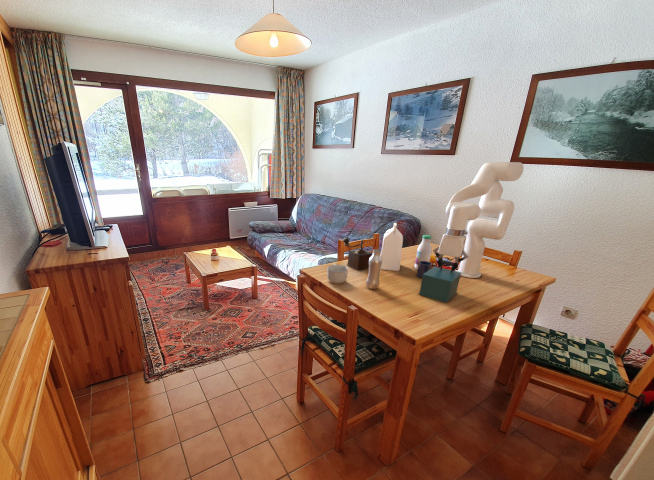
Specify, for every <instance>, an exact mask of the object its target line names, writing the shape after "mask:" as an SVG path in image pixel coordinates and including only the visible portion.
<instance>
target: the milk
mask: <svg viewBox="0 0 654 480" xmlns="http://www.w3.org/2000/svg"><path fill="white" fill-rule="evenodd" d="M397 225H398V224H397V222H393V227H391V228H389V229H387V230H386V231H385V233H383V239H382V245H381V252H380V253H381V254H380V257H381V258H382V264H381V268H380V270H385V271H386V270H387V271H396V272H400V268H401V261H402V251H403V242H404V236H403V234H402V233H401V232H400V230H399V229H398V228H397Z"/></svg>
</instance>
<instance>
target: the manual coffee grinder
mask: <svg viewBox="0 0 654 480" xmlns="http://www.w3.org/2000/svg"><path fill="white" fill-rule="evenodd" d="M342 242H343V243H344V246H345V247H347V248H354V249H352V250H348V254H347V255H348V256H347V265H346V266H347V267H349V268H351V269H353V270H356V271H364V270H369V259H370V257H371V256H372V255H373V254H372V253H373V252H370V251H369V250H367V249H364V248H363V244H364V240H363V239H361V240H360V242H359V243H358V244H355V245H350V242H351V239H350V238H349V237H344V238H343V239H342ZM359 246H360V247H359Z"/></svg>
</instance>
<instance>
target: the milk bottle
mask: <svg viewBox="0 0 654 480" xmlns="http://www.w3.org/2000/svg"><path fill="white" fill-rule="evenodd" d="M432 237H433V236H432V235H430V234H423V235H422V238H421V239H422V241H421V242H420V244H419V245H418V247H417V249H416V256H415V261H414V266H413V267H414V268H415V269H416V270H418V265H419V262H420V261H427V262H430V263H431V256H432V252H433V249H432V244H431V241H432Z"/></svg>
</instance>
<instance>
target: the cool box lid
mask: <svg viewBox="0 0 654 480" xmlns="http://www.w3.org/2000/svg"><path fill="white" fill-rule="evenodd" d="M454 263H455V262H452V261H449V260H444V259H443V260H442V261H441V267H438V266H436V265H435V266H432V268H431V269H430V270H429V271H427V272H426V273H424V274H423V276H425V277H429V278H433V279H437V280H441V281H445V282H449V283H452V282H453V281H454V280H455V279H456V278H457V277H459V276H460V275H461V274H462V272H457V271H456V270H455V271H453V266H454ZM444 265H445V266H449V267H451V269H449V268H444V267H443V266H444ZM460 277H461V276H460Z"/></svg>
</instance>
